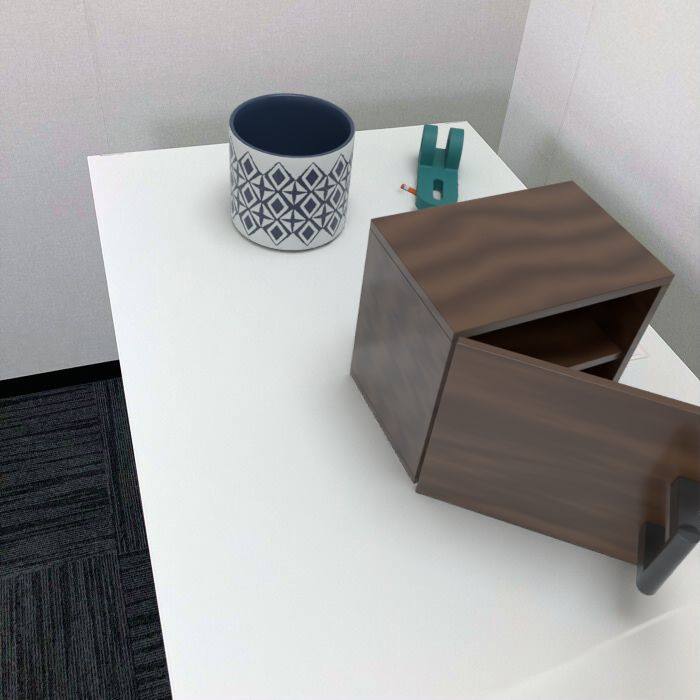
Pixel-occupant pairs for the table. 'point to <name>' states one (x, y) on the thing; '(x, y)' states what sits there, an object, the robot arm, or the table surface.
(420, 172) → the bracket
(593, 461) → the door
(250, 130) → the planter
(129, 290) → the table surface
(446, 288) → the cupboard
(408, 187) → the pencil
